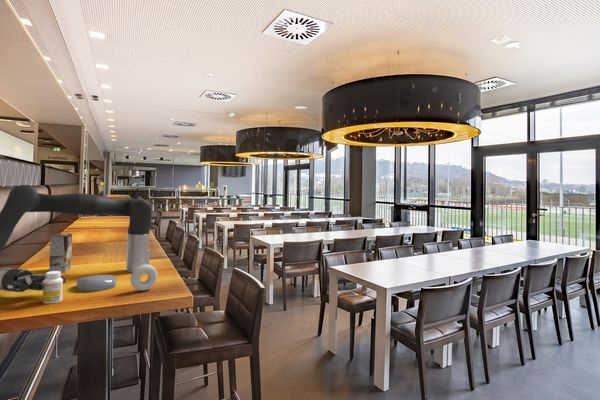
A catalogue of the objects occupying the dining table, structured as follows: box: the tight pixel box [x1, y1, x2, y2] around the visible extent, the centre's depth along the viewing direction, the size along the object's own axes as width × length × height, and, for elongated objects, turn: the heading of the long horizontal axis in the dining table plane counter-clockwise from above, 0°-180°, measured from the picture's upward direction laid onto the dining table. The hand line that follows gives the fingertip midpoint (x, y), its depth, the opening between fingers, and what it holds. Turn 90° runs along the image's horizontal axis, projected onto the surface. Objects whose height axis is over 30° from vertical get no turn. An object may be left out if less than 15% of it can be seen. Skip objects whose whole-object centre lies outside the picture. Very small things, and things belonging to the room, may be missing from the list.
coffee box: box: [48, 233, 73, 273], centre depth 153 cm, size 9×6×16 cm
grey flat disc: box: [76, 274, 117, 293], centre depth 132 cm, size 13×13×3 cm
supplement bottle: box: [42, 271, 64, 305], centre depth 114 cm, size 5×5×10 cm
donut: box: [129, 264, 158, 292], centre depth 130 cm, size 10×4×10 cm, turn 139°
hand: (54, 283), depth 114 cm, fingers open, 8 cm apart
